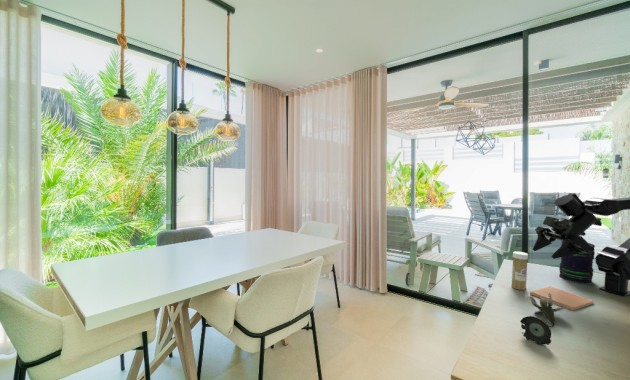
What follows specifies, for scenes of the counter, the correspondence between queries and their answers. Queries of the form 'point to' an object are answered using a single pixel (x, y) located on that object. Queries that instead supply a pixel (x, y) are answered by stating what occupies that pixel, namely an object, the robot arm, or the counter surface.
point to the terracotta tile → (562, 298)
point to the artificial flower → (540, 322)
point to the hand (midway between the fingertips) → (542, 253)
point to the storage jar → (578, 267)
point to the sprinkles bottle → (519, 270)
